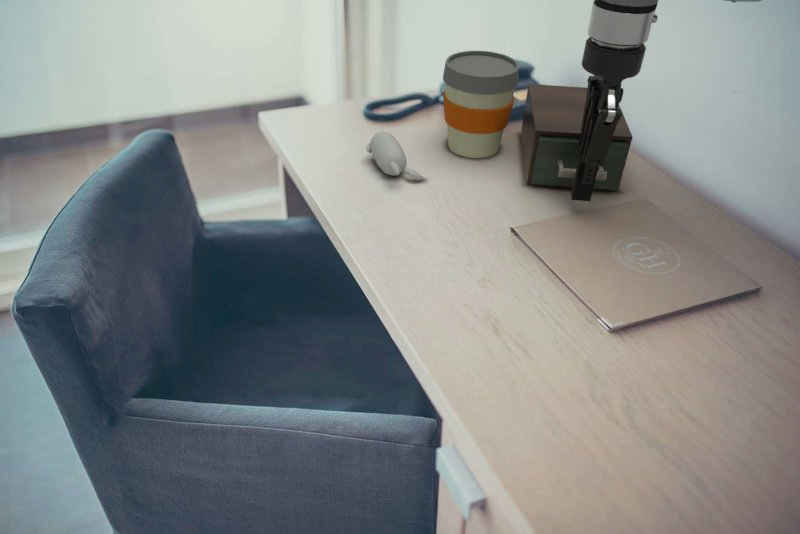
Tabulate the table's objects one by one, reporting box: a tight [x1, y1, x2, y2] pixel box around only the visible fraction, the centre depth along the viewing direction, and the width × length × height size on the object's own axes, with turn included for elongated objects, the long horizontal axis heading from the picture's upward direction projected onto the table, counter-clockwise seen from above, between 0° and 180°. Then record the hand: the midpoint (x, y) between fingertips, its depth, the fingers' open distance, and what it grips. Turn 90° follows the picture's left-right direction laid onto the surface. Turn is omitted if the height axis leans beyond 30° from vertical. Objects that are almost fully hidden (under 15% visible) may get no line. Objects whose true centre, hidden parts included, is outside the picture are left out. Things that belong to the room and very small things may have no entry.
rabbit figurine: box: [366, 130, 424, 181], centre depth 105 cm, size 6×5×12 cm
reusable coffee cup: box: [442, 50, 520, 159], centre depth 110 cm, size 13×13×15 cm
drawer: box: [531, 135, 628, 190], centre depth 105 cm, size 22×13×8 cm, turn 174°
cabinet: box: [520, 83, 633, 192], centre depth 108 cm, size 19×15×10 cm
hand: (580, 198), depth 97 cm, fingers closed
